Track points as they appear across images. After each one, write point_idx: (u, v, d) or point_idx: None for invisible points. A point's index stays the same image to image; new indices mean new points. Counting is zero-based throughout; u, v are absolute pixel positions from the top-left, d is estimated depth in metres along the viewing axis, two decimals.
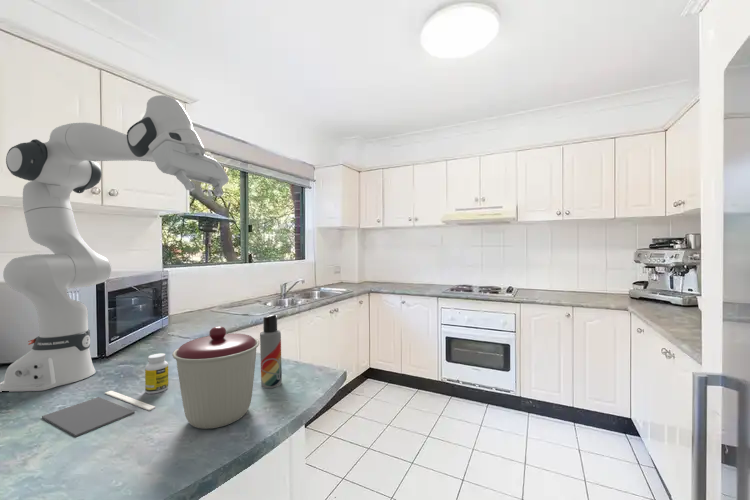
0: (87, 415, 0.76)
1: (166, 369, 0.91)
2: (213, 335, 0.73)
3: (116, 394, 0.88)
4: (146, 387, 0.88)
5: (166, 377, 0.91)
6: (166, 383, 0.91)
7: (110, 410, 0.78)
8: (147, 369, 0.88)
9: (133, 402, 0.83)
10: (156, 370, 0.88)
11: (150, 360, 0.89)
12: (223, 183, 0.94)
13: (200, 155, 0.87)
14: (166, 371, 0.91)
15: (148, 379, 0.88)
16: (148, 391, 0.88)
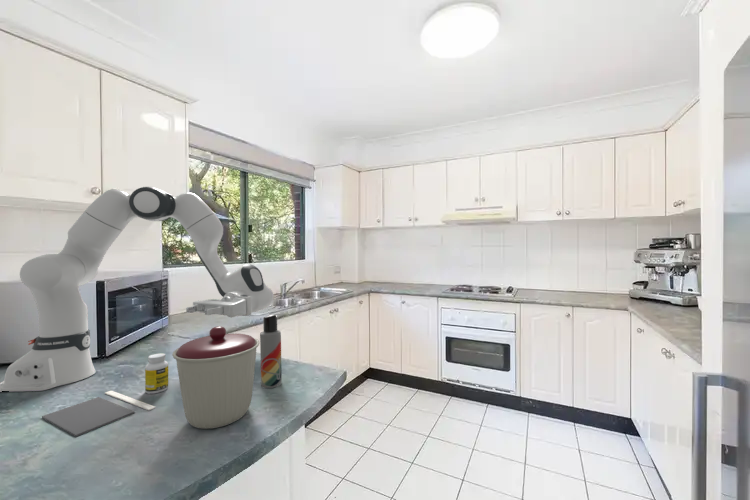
0: (87, 415, 0.76)
1: (166, 369, 0.91)
2: (213, 335, 0.73)
3: (116, 394, 0.88)
4: (146, 387, 0.88)
5: (166, 377, 0.91)
6: (166, 383, 0.91)
7: (110, 410, 0.78)
8: (147, 369, 0.88)
9: (133, 402, 0.83)
10: (156, 370, 0.88)
11: (150, 360, 0.89)
12: None
13: None
14: (166, 371, 0.91)
15: (148, 379, 0.88)
16: (148, 391, 0.88)
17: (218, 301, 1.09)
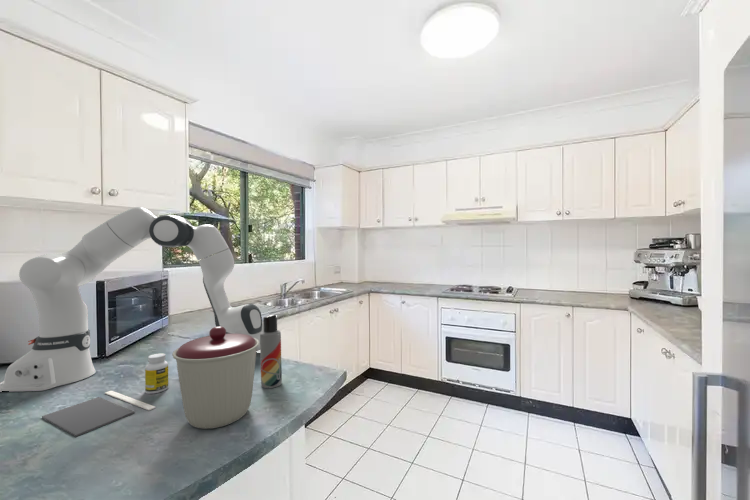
0: (87, 415, 0.76)
1: (166, 369, 0.91)
2: (213, 335, 0.73)
3: (116, 394, 0.88)
4: (146, 387, 0.88)
5: (166, 377, 0.91)
6: (166, 383, 0.91)
7: (110, 410, 0.78)
8: (147, 369, 0.88)
9: (133, 402, 0.83)
10: (156, 370, 0.88)
11: (150, 360, 0.89)
12: None
13: None
14: (166, 371, 0.91)
15: (148, 379, 0.88)
16: (148, 391, 0.88)
17: None
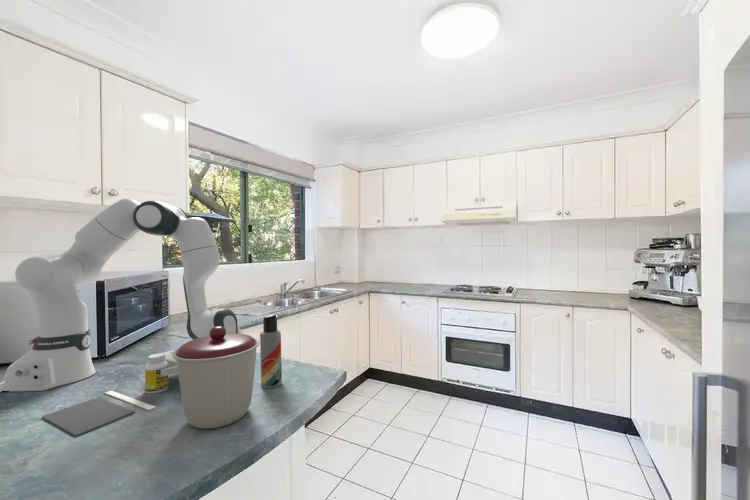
0: (87, 415, 0.76)
1: None
2: (213, 335, 0.73)
3: (116, 394, 0.88)
4: (146, 387, 0.88)
5: (166, 377, 0.91)
6: (166, 383, 0.91)
7: (110, 410, 0.78)
8: (147, 369, 0.88)
9: (133, 402, 0.83)
10: (156, 370, 0.88)
11: (150, 360, 0.89)
12: None
13: None
14: None
15: (147, 379, 0.88)
16: (148, 391, 0.88)
17: None
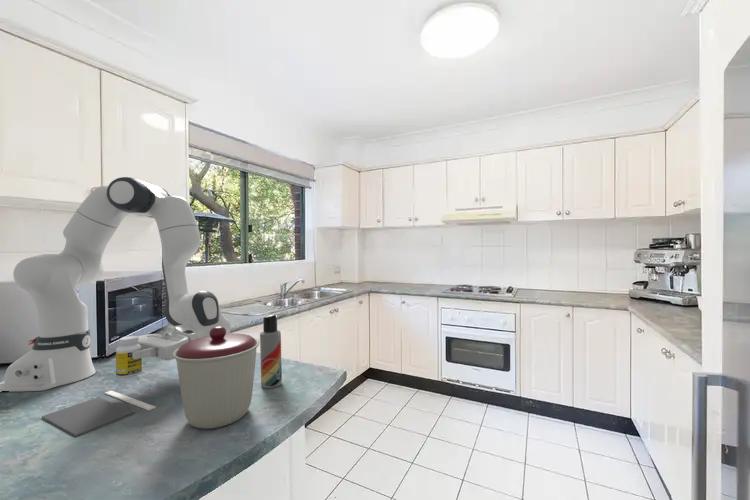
0: (87, 415, 0.76)
1: None
2: (213, 335, 0.73)
3: (116, 394, 0.88)
4: (117, 371, 0.82)
5: (139, 361, 0.85)
6: (139, 367, 0.85)
7: (110, 410, 0.78)
8: (118, 352, 0.82)
9: (133, 402, 0.83)
10: (127, 353, 0.82)
11: (121, 342, 0.83)
12: None
13: None
14: None
15: (118, 362, 0.82)
16: (119, 375, 0.82)
17: (156, 339, 0.92)
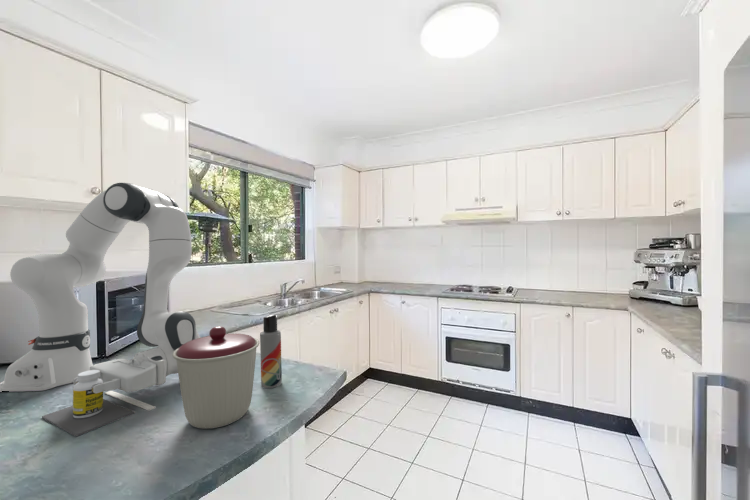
0: None
1: None
2: (213, 335, 0.73)
3: (116, 394, 0.88)
4: (73, 411, 0.75)
5: (99, 398, 0.77)
6: (99, 405, 0.77)
7: (110, 410, 0.78)
8: (75, 389, 0.75)
9: (133, 402, 0.83)
10: (85, 391, 0.75)
11: (79, 378, 0.75)
12: None
13: None
14: None
15: (75, 401, 0.74)
16: (75, 415, 0.74)
17: (122, 366, 0.84)
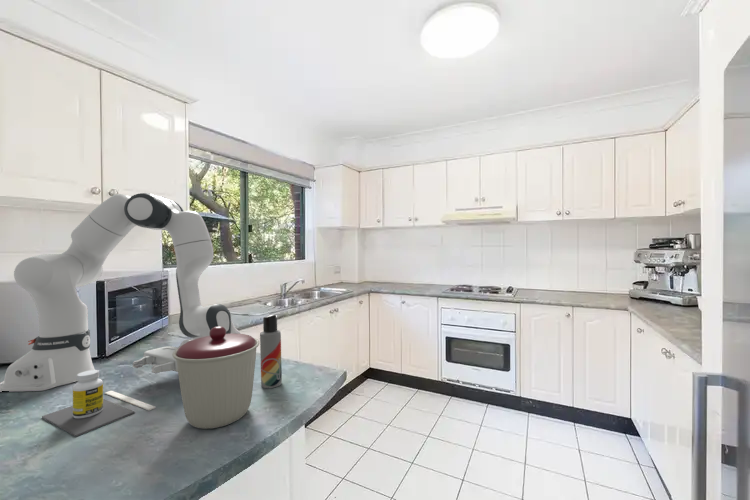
0: None
1: (99, 389, 0.77)
2: (213, 335, 0.73)
3: (116, 394, 0.88)
4: (73, 411, 0.75)
5: (99, 398, 0.77)
6: (99, 405, 0.77)
7: (110, 410, 0.78)
8: (74, 389, 0.75)
9: (133, 402, 0.83)
10: (85, 391, 0.75)
11: (79, 379, 0.75)
12: None
13: None
14: (99, 391, 0.77)
15: (75, 401, 0.74)
16: (75, 416, 0.74)
17: (172, 351, 0.95)
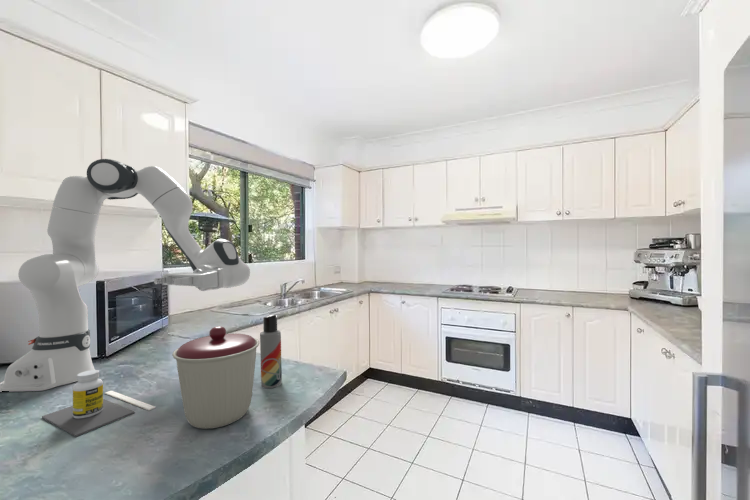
0: None
1: (99, 389, 0.77)
2: (213, 335, 0.73)
3: (116, 394, 0.88)
4: (73, 411, 0.75)
5: (99, 398, 0.77)
6: (99, 405, 0.77)
7: (110, 410, 0.78)
8: (74, 389, 0.75)
9: (133, 402, 0.83)
10: (85, 391, 0.75)
11: (79, 379, 0.75)
12: None
13: (195, 285, 1.07)
14: (99, 391, 0.77)
15: (75, 401, 0.74)
16: (75, 416, 0.74)
17: None
